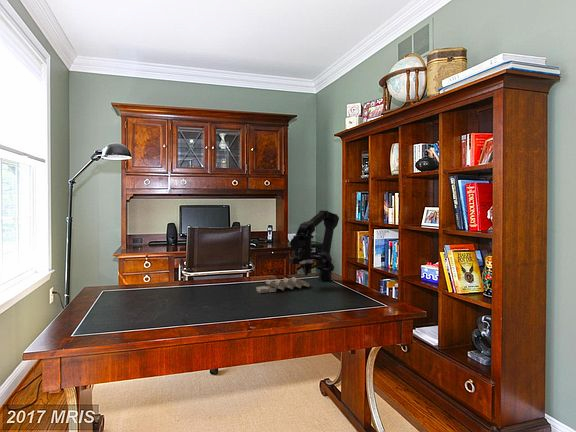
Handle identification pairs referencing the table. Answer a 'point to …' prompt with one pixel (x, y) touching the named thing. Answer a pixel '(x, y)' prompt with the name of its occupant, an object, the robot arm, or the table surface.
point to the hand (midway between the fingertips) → (305, 275)
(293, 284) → the domino
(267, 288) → the domino
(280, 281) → the domino
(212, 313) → the table surface
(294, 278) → the domino
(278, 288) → the domino
